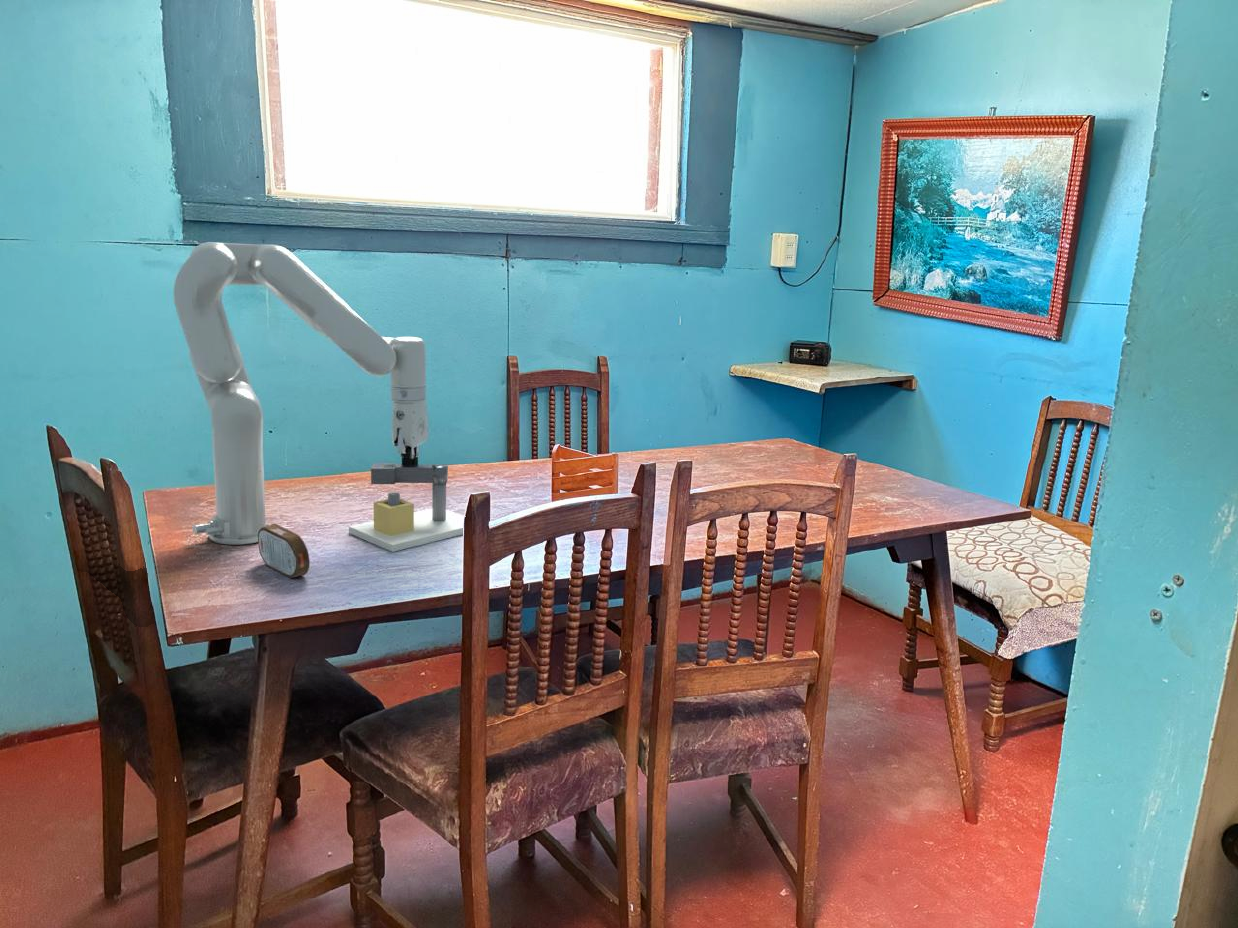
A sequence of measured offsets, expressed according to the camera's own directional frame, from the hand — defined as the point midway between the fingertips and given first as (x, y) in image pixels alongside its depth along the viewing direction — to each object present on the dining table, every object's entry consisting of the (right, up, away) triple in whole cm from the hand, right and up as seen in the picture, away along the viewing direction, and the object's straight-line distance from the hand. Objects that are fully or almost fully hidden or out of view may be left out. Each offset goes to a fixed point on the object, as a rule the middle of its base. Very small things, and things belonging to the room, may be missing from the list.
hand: (410, 474), depth 210 cm
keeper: (+1, -2, -3) cm, 4 cm away
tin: (-17, -18, -31) cm, 40 cm away
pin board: (+2, -12, -4) cm, 13 cm away
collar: (-2, -12, -9) cm, 15 cm away
